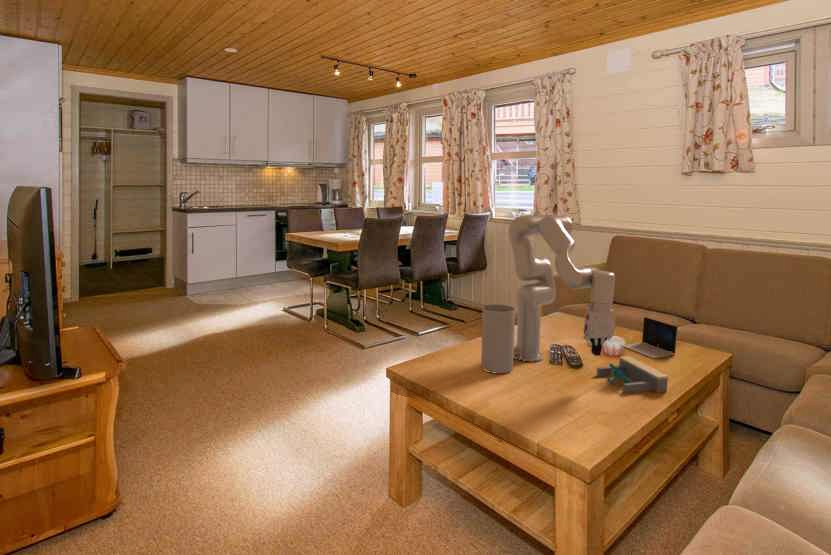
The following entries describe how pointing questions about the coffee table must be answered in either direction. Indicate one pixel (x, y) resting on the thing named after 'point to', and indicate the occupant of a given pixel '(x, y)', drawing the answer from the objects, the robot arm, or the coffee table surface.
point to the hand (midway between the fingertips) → (595, 354)
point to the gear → (617, 374)
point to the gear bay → (638, 376)
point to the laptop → (656, 339)
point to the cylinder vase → (498, 338)
